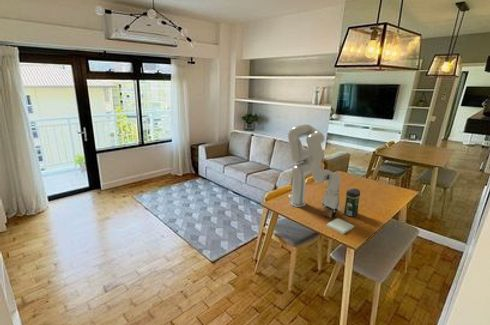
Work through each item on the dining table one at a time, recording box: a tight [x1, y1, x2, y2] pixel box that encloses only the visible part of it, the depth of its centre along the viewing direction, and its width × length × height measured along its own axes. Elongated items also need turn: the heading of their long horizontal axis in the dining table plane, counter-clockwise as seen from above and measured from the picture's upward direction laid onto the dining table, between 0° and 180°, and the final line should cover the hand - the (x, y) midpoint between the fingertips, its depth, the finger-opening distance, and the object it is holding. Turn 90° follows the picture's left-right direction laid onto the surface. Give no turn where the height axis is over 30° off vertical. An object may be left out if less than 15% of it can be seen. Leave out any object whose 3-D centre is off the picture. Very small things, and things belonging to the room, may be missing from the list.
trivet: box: [326, 217, 355, 235], centre depth 165 cm, size 12×12×2 cm
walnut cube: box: [322, 206, 334, 219], centre depth 178 cm, size 6×6×6 cm
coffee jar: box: [343, 187, 361, 217], centre depth 178 cm, size 10×8×19 cm
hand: (329, 214), depth 178 cm, fingers closed on walnut cube, 6 cm apart
